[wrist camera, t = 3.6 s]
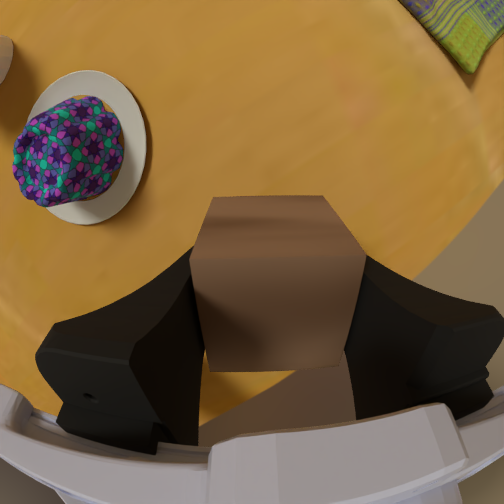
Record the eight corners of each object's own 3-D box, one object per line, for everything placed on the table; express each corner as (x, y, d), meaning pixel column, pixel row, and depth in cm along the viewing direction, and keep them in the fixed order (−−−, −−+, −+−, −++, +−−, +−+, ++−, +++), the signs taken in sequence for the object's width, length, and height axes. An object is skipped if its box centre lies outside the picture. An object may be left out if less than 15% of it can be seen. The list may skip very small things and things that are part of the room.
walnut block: (314, 285, 13) (338, 366, 9) (221, 288, 13) (210, 371, 9) (322, 195, 11) (366, 254, 7) (213, 197, 11) (189, 259, 7)
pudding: (178, 99, 16) (152, 96, 11) (121, 244, 21) (92, 280, 16) (53, 58, 13) (9, 55, 8) (19, 189, 18) (-19, 212, 13)
